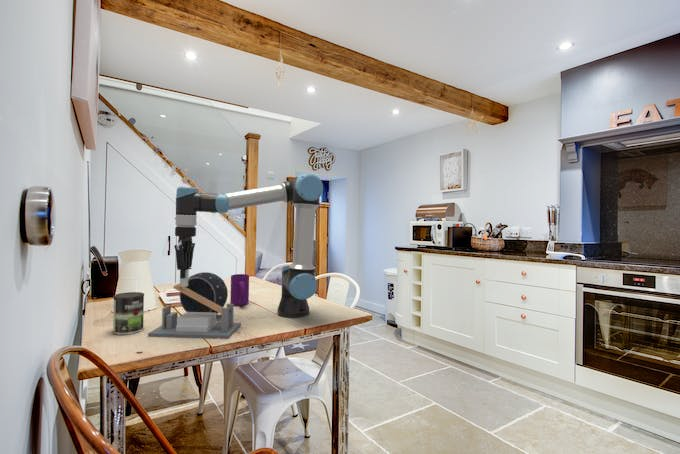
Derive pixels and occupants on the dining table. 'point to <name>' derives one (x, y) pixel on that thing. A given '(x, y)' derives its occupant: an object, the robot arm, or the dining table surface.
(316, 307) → the dining table surface
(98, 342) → the dining table surface
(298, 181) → the robot arm
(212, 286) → the black short cylinder
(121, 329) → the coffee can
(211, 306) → the strap
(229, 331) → the grey fixture stand
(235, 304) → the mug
